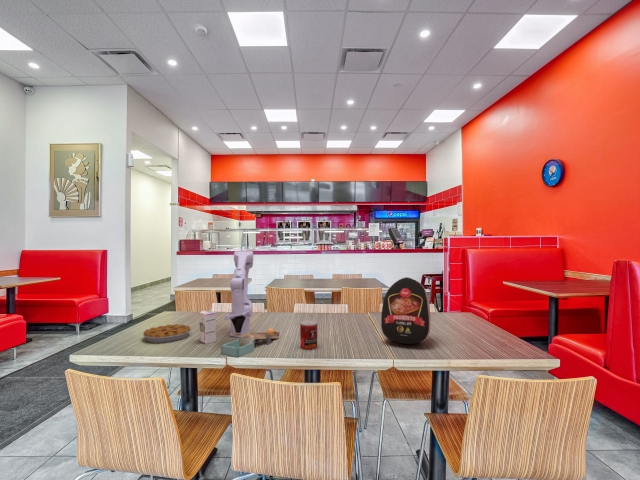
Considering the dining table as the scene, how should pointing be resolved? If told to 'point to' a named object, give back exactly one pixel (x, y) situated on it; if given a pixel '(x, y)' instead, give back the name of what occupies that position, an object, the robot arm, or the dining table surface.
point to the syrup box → (207, 326)
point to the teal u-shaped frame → (236, 348)
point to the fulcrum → (264, 340)
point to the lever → (258, 335)
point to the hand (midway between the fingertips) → (238, 332)
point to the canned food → (308, 334)
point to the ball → (270, 331)
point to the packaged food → (406, 312)
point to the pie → (166, 333)
